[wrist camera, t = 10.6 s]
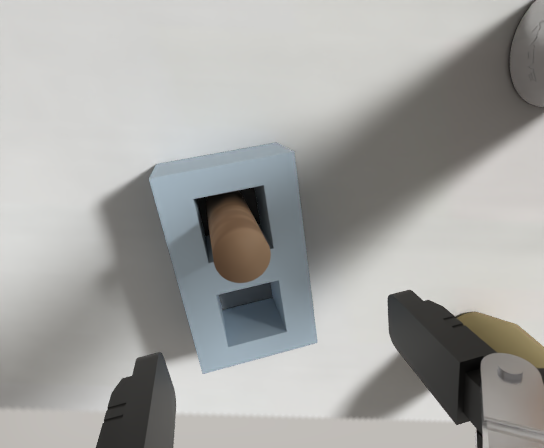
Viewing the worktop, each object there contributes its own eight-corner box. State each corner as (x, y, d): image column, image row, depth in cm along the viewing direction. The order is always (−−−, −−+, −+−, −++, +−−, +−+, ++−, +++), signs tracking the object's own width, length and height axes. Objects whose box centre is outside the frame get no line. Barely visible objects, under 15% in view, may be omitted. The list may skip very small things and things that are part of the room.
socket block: (276, 142, 27) (294, 151, 22) (299, 307, 32) (317, 342, 28) (156, 164, 26) (148, 178, 21) (200, 333, 31) (202, 374, 26)
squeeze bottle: (506, 334, 40) (735, 505, 23) (447, 377, 40) (632, 577, 23) (482, 286, 36) (727, 444, 20) (418, 333, 37) (608, 528, 20)
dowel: (240, 182, 27) (266, 224, 18) (247, 218, 28) (274, 275, 19) (202, 190, 27) (207, 237, 18) (210, 226, 28) (219, 288, 19)
